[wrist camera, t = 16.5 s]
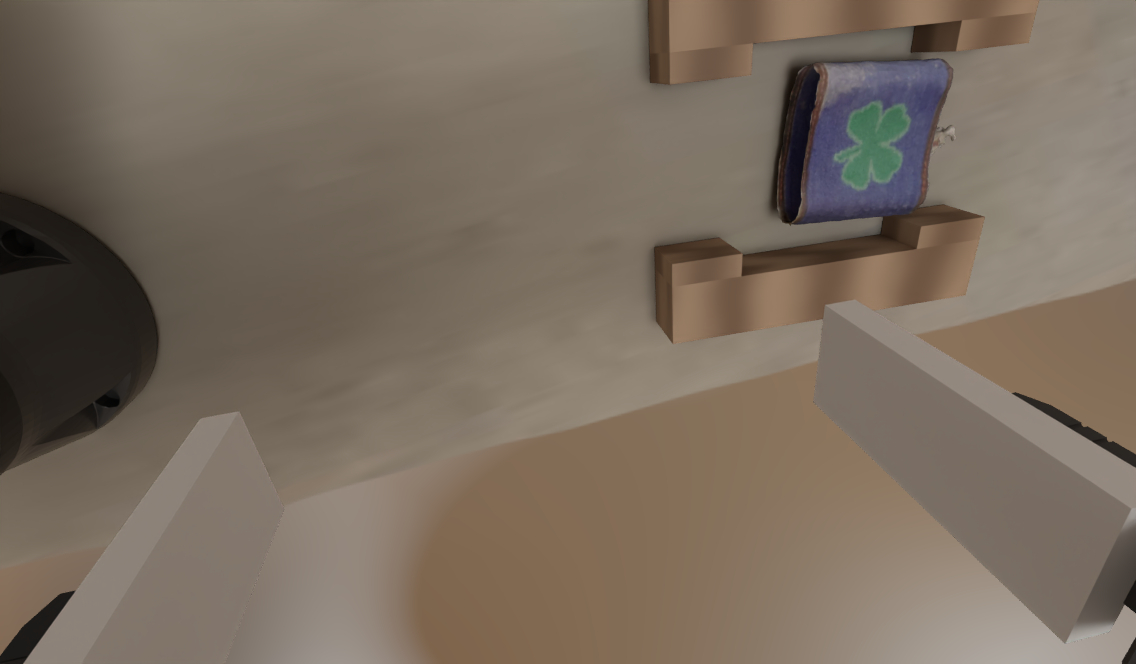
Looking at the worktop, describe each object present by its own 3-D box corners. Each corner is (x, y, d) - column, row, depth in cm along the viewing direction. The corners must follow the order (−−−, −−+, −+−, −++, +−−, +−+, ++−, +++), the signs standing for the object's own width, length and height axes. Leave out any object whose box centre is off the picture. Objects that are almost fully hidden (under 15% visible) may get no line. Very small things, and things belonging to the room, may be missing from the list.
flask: (821, 62, 30) (987, 56, 32) (790, 63, 32) (944, 58, 34) (796, 230, 34) (945, 216, 36) (770, 219, 36) (910, 206, 38)
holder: (656, 321, 39) (673, 343, 36) (647, -30, 29) (668, -41, 26) (927, 277, 41) (965, 295, 38) (1000, -63, 32) (1058, -77, 29)
